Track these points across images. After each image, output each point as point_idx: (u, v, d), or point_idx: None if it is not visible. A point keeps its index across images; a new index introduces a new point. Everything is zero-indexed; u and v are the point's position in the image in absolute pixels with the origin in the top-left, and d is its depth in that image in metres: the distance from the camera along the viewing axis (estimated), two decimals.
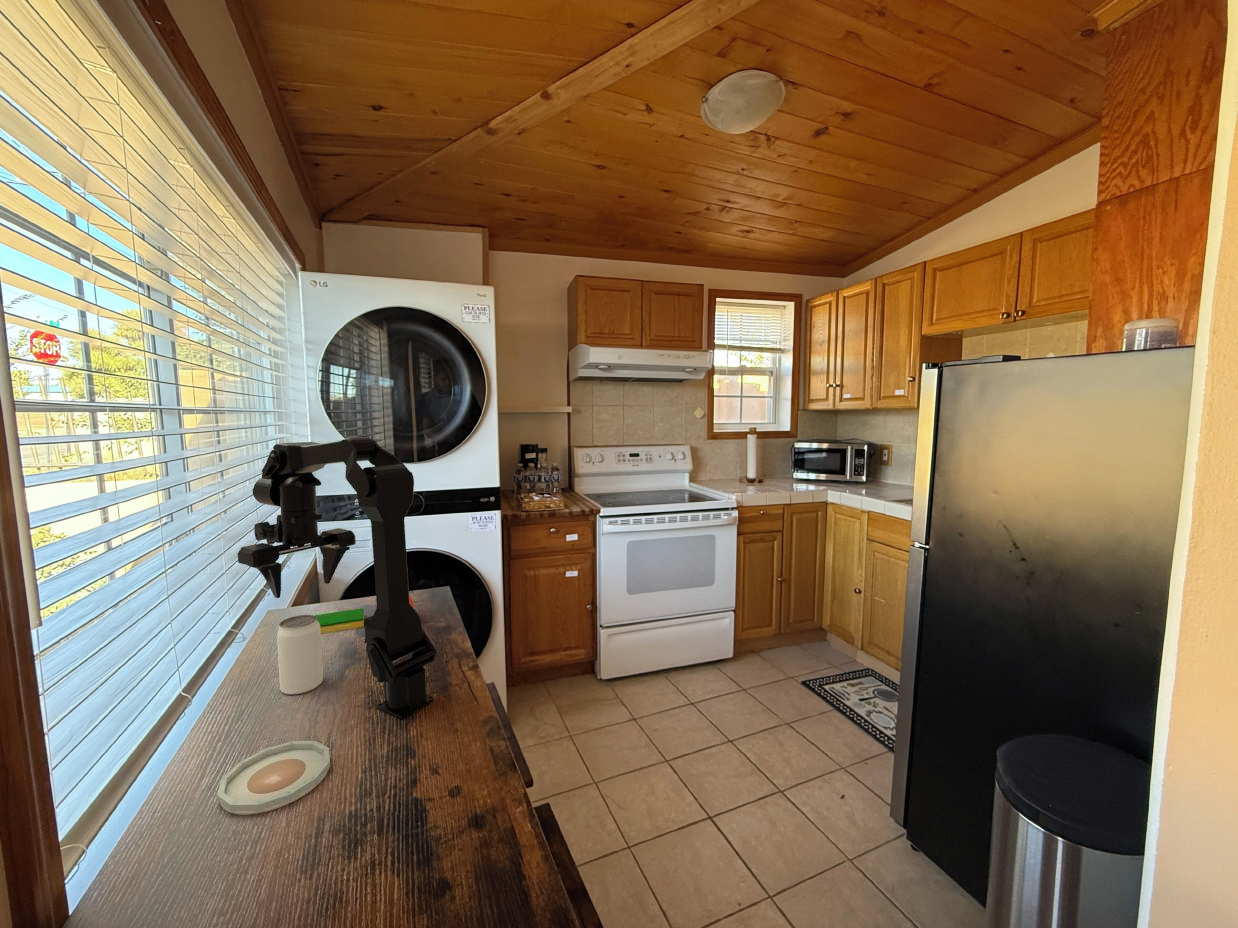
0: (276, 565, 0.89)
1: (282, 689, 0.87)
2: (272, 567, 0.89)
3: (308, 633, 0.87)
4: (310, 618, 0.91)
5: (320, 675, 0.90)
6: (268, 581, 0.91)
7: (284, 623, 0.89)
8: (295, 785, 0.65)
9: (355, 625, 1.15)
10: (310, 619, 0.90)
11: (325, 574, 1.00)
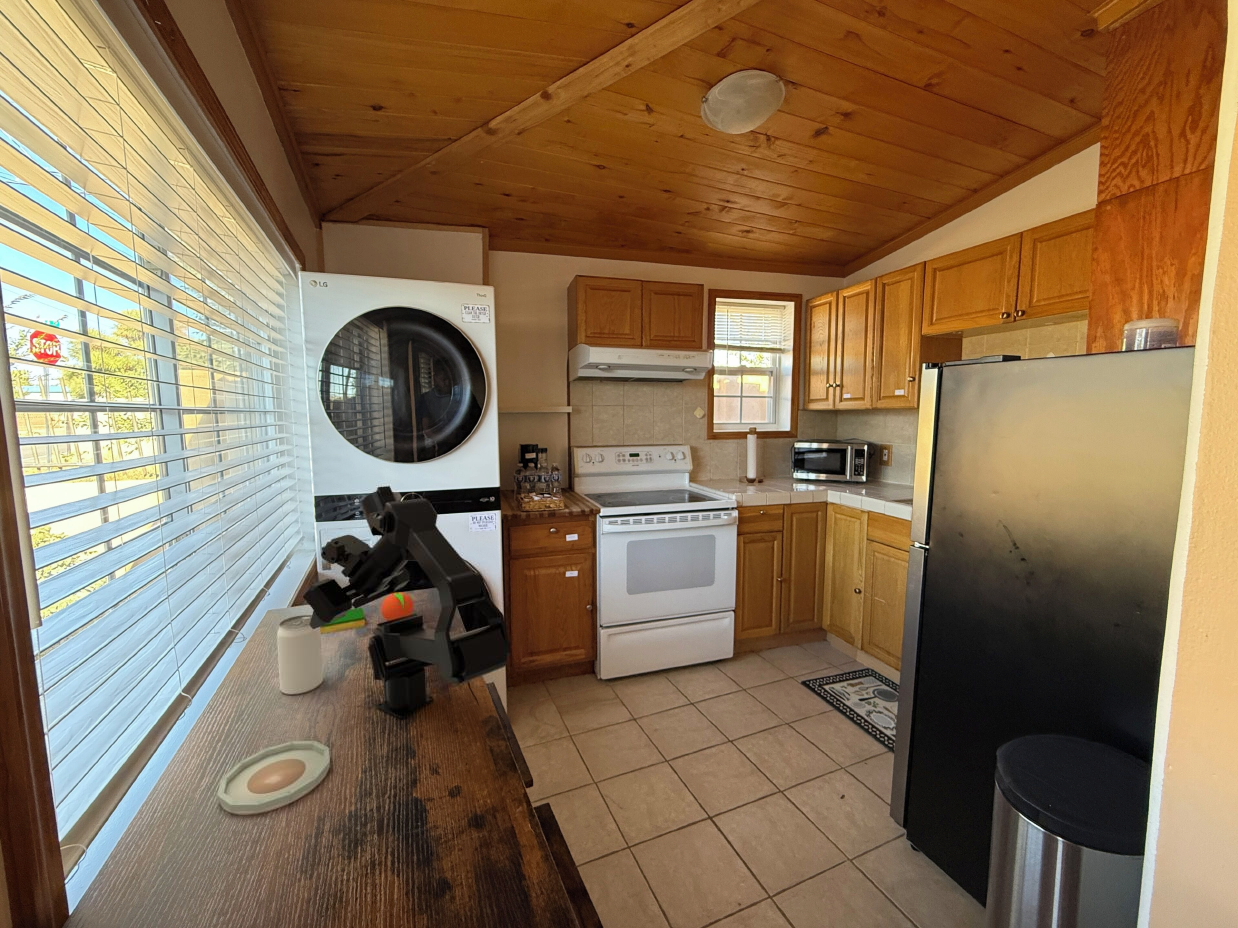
0: (340, 617, 0.79)
1: (282, 689, 0.87)
2: (336, 619, 0.79)
3: (308, 633, 0.87)
4: (310, 618, 0.91)
5: (320, 675, 0.90)
6: (316, 615, 0.81)
7: (284, 623, 0.89)
8: (295, 785, 0.65)
9: (356, 624, 1.15)
10: (310, 619, 0.90)
11: (359, 600, 0.91)
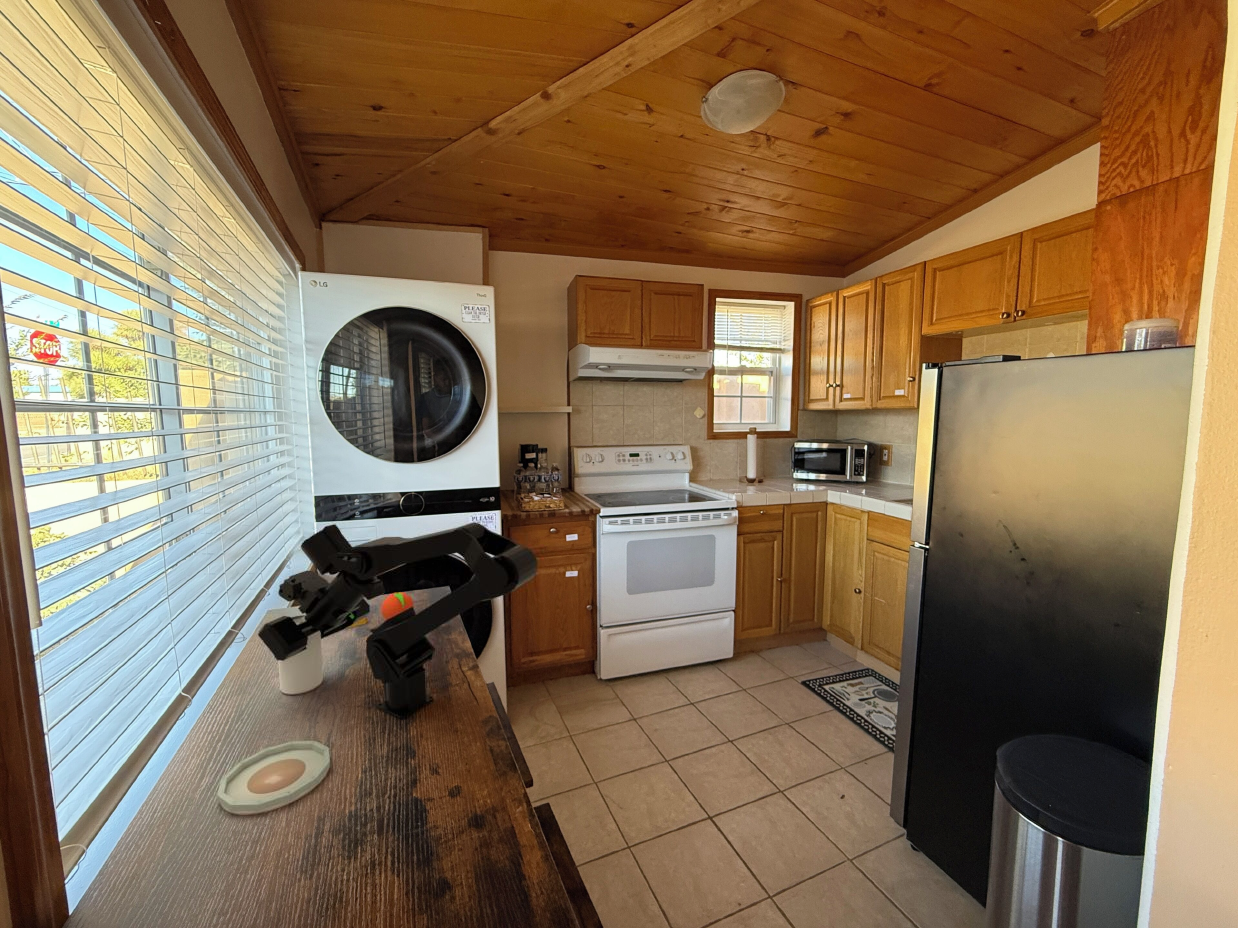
0: (302, 650, 0.83)
1: (282, 689, 0.87)
2: None
3: None
4: None
5: (320, 675, 0.90)
6: None
7: None
8: (295, 785, 0.65)
9: (359, 622, 1.16)
10: None
11: None
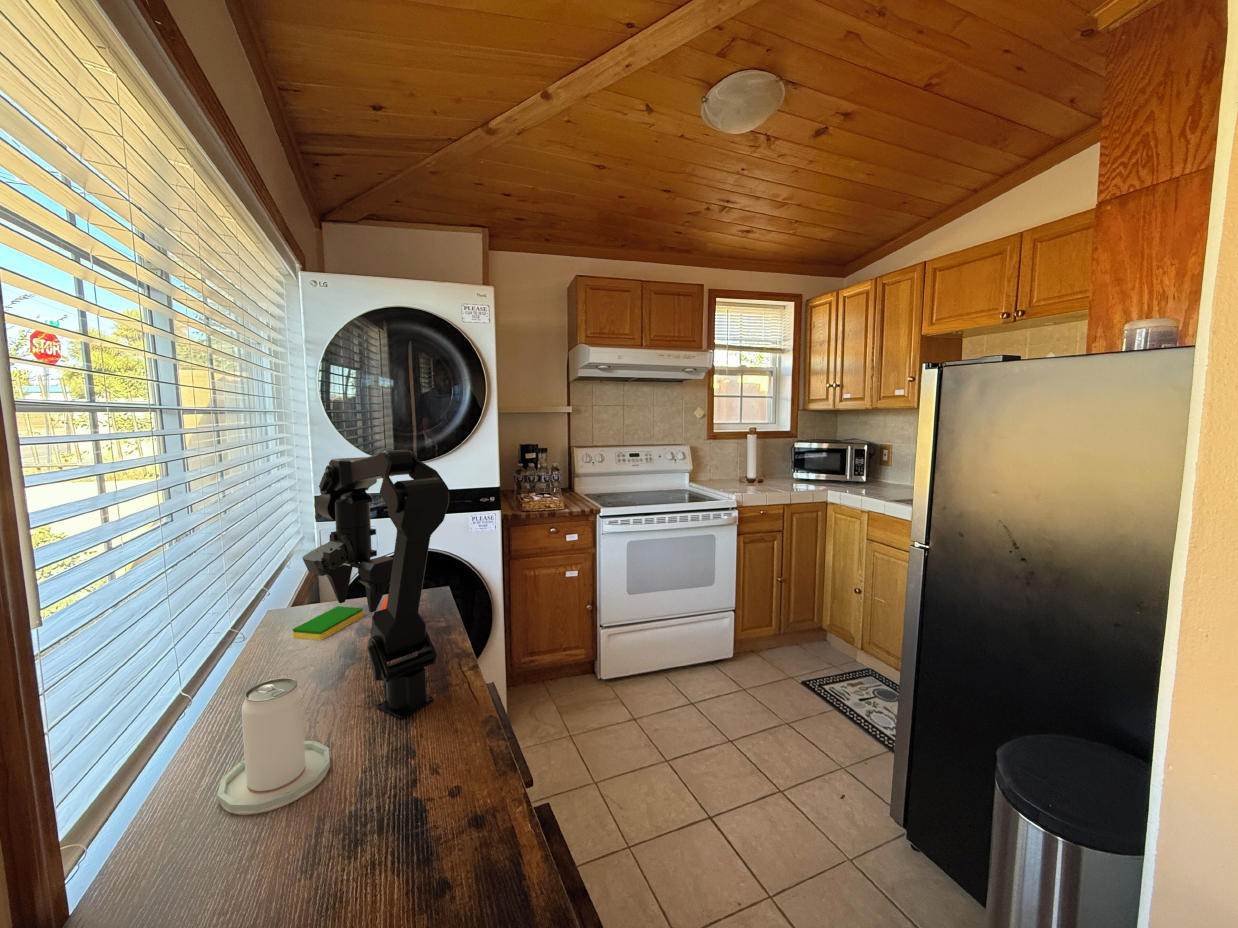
0: None
1: (280, 782, 0.64)
2: None
3: None
4: (268, 685, 0.67)
5: None
6: (374, 595, 0.92)
7: None
8: (295, 785, 0.65)
9: (359, 616, 1.20)
10: (271, 684, 0.67)
11: (342, 593, 0.97)
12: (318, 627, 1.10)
